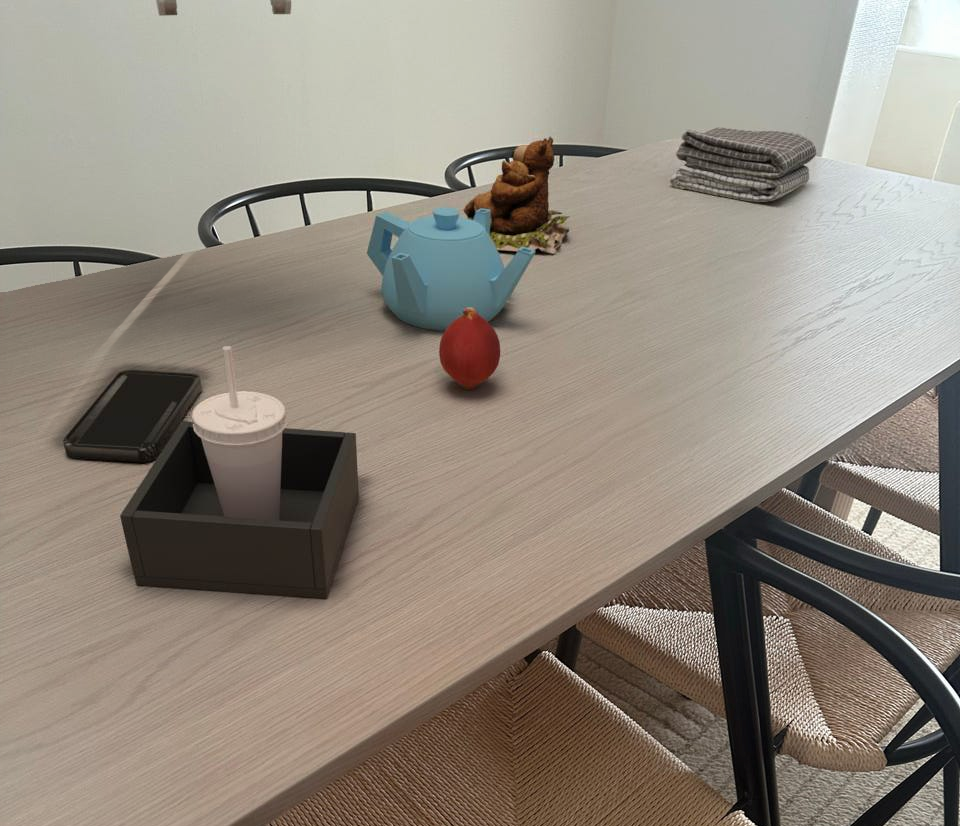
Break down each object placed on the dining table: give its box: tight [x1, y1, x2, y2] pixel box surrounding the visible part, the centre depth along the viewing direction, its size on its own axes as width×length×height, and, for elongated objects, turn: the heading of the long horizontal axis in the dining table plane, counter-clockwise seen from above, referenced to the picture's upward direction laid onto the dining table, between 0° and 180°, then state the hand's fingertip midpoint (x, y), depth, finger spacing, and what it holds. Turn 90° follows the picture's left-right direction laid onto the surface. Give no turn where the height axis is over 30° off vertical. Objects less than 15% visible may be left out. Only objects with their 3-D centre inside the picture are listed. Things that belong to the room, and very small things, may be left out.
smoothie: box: [191, 345, 288, 520], centre depth 70 cm, size 6×6×14 cm
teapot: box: [366, 206, 536, 332], centre depth 107 cm, size 15×15×11 cm
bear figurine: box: [462, 136, 571, 255], centre depth 127 cm, size 14×15×12 cm
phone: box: [62, 368, 203, 463], centre depth 88 cm, size 8×1×15 cm
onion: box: [438, 307, 501, 390], centre depth 93 cm, size 6×6×8 cm
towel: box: [669, 127, 818, 203], centre depth 151 cm, size 15×18×8 cm
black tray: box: [119, 420, 360, 600], centre depth 73 cm, size 14×14×6 cm
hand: (226, 10), depth 82 cm, fingers open, 8 cm apart
